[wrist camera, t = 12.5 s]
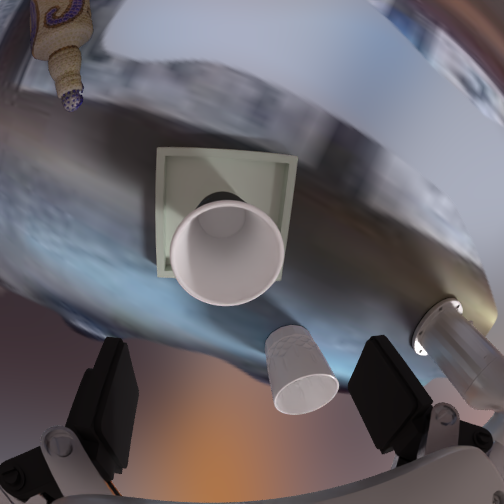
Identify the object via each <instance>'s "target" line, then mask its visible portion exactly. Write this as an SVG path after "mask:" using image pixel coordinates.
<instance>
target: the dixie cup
mask: <svg viewBox="0 0 504 504" xmlns="http://www.w3.org/2000/svg"><path fill="white" fill-rule="evenodd" d="M283 259H284V245H283V240H282V236H281V234H280V231H279V229H278V227H277V226H276V224H275V223H274V221H273V220H272V219H271V218H270V217H269V216H268V215H267V214H266V213H265V212H263V211H262V210H260V209H259V208H257V207H255V206H253V205H251V204H248V203H246V202H245V201H244V200H242V199H241V198H240V197H238V196H237V195H235V194H233V193H230V192H225V191H220V192H215V193H212V194H210V195H208V196H206V197H205V198H204V199H203V200H202V201H201V202H200V203H199V205H198V206H197V207H196V209H195V210H194V211H192V212H191V213H190V214H188V215H187V216H186V217H185V218H184V219H183V220H182V222H181V223H180V224H179V226H178V227H177V229H176V231H175V232H174V235H173V237H172V241H171V245H170V263H171V267H172V271H173V273H174V275H175V277H176V279H177V281H178V282H179V284H180V285H181V286H182V287H183V289H184V290H185V291H187V292H188V293H189V294H190V295H192V296H193V297H195V298H196V299H198V300H200V301H202V302H205V303H208V304H212V305H217V306H234V305H239V304H243V303H246V302H249V301H251V300H253V299H255V298H257V297H259V296H260V295H262V294H263V293H264V292H265V291H266V290H267V289H268V288H270V286H271V285H272V284H273V283H274V281H275V280H276V278H277V277H278V275H279V273H280V270H281V267H282V264H283Z"/></svg>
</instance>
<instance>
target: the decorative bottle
mask: <svg viewBox="0 0 504 504" xmlns="http://www.w3.org/2000/svg"><path fill="white" fill-rule="evenodd" d="M92 33H93V24H92V20H91V10H90V2H89V0H30V34H31V39H30V41H31V52H32V55H33V57H34V58H35V59H38V60H43V61H48V60H49V61H48V67H49V72H50V75H51V77H52V78H53V80H54V81H55V85H56V90H57V94H58V97H59V98H62V104H63V106H64V107H65V109H66V110H67V111H69V112H73V111H75V110H76V109H78V107H79V106H80V105H81V104H82V102H83V97H82V95H80V94H79V92H80V91H81V93H83V89H84V86H83V84H82V82H81V76H80V68H81V61H82V58H81V52H80V50H79V48H80V47H81V46H83V45H84V44H85V43H86V42H88V41H89V39H90V38H91V36H92Z"/></svg>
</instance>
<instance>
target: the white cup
mask: <svg viewBox="0 0 504 504" xmlns="http://www.w3.org/2000/svg"><path fill="white" fill-rule="evenodd" d="M265 354H266V361H267V368H268V375H269V381H270V386H271V391H272V396H273V401H274V405H275V408H276V409H277V410H279V411H280V412H282V413H285V414H291V415H296V414H304V413H308V412H311V411H314V410H317V409H319V408H321V407H322V406H324V405H325V404H327V403H328V402H329V401H331V399H333V397H334V396H335V395H336V393H337V391H338V388H339V383H338V380H337V379H336V377H335V375H334V373H333V371H332V370H331V368H330V366H329V364H328V362H327V361H326V359H325V357H324V355H323V354H322V352H321V351H320V349H319V347H318V345H317V344H316V343H315V342H314V340H313V338H312V336H311V335H310V333H309V331H308V330H306V329H305V328H303V327H302V326H297V325H288V326H284V327H280V328H279V329H277V330H275V331H274V332H272V333H271V334H270V336H269V337H268V338H267V340H266V341H265Z"/></svg>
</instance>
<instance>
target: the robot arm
mask: <svg viewBox="0 0 504 504" xmlns="http://www.w3.org/2000/svg"><path fill="white" fill-rule="evenodd" d="M412 347H413V349H414V351H415V352H416V353H417V354H419V355H427V354H428V355H429V356H430V357H431V358H432V360H433V361H434V362H435V363H436V364H437V366H438V367H439V368H440V369H441V371H442V372H443V373H444V374H445V376H446V377H447V378H448V379H449V381H450V382H451V383H452V385H453V386H454V387H455V388H456V390H457V391H458V392H459V393H460V395H461V396H462V398H463V399H464V400H465V401H466V403H467V404H468V405H469V406H470V407H472V408H473V409H476V410H493V411H494V412H495V413H494V415H493V416H492V417H491V418H490V420H489V421H488V422H487V423H486V424H485V425H484V426H483V427H480V426H476V425H473V424H470V423H467V422H464V421H461V420H460V418H459V413H458V411H457V410H456V409H455V407H453V406H452V405H450V404H448V403H443V402H442V403H438V404H436V405H435V406H434V407H433V406H432V405H431V404H432V403H433V400H432V399H431V397H430V396H429V395H428V393H427V392H426V390H425V389H424V387H423V386H422V385H421V383H420V382H419V380H418V379H417V378H416V376H415V375H414V373H413V372H412V371H411V369H410V368H409V367H408V365H407V364H406V362H405V361H404V360H403V358H402V357H401V356H400V354H399V353H398V352H397V350H396V349H395V348H394V346H393V345H392V344H391V342H390V341H389V340H388V338H387V337H386V336H385V335H379V336H372V337H370V339H369V340H368V341H367V342H366V344H365V346H364V349H363V351H362V353H361V356H360V358H359V360H358V363H357V365H356V367H355V370H354V372H353V374H352V376H351V378H350V381H349V383H348V390H349V392H350V394H351V396H352V399H353V401H354V403H355V405H356V407H357V409H358V411H359V413H360V415H361V417H362V419H363V421H364V423H365V425H366V427H367V429H368V432H369V434H370V436H371V438H372V440H373V442H374V444H375V446H376V448H377V449H380V451H381V453H382V454H385V453H388V452H391V451H393V450H394V451H395V453H396V455H395V458H394V461H393V464H392V467H391V470H389V471H387V472H384V473H381V474H378V475H375V476H372V477H369V478H366V479H363V480H360V481H357V482H353V483H350V484H346V485H342V486H338V487H335V488H331V489H327V490H322V491H318V492H313V493H308V494H302V495H297V496H291V497H284V498H277V499H269V500H260V501H248V502H232V503H231V502H230V503H191V502H172V501H160V500H150V499H142V498H133V497H124V496H122V495H121V494H120V492H119V491H118V489H117V488H116V487H115V485H114V484H113V483H112V481H111V480H113V477H114V473H118V474H122V468H127V465H128V457H129V451H130V444H131V437H132V431H133V425H134V419H135V413H136V407H137V402H138V396H139V390H138V386H137V382H136V378H135V374H134V371H133V367H132V362H131V358H130V354H129V350H128V345H127V343H124V342H123V341H122V339H121V338H114V337H106V339H105V341H104V343H103V345H102V348H101V350H100V353H99V355H98V358H97V360H96V363H95V365H94V368H93V369H90V368H88V369H87V370H86V372H85V374H84V376H83V378H82V381H81V383H80V386H79V389H78V391H77V394H76V397H75V399H74V402H73V405H72V408H71V410H70V413H69V417H68V419H67V422H66V425H65V427H64V426H53V427H50V428H48V429H47V430H46V431H45V432H44V433H43V434H42V436H41V439H40V446H39V447H36V448H34V449H32V450H30V451H28V452H25V453H23V454H21V455H18V456H16V457H14V458H11V459H9V460H6V461H5V462H3V463H2V464H1V465H0V504H504V355H503V354H502V353H501V352H500V351H499V350H498V349H497V348H496V347H495V346H494V345H493V344H492V343H491V342H490V341H489V340H488V339H487V338H486V337H485V336H484V335H483V334H482V333H481V332H479V331H478V330H477V329H476V328H475V327H474V326H473V322H472V321H471V320H470V321H468V320H467V319H466V318H465V317H463V316H462V305H461V303H460V302H459V301H458V300H457V299H455V298H447V299H445V300H442V301H441V302H439V303H437V304H436V305H435V306H434V307H432V308H431V309H430V310H429V311H428V312H427V313H426V315H425V316H424V317H423V318H422V320H421V321H420V323H419V324H418V326H417V328H416V330H415V332H414V335H413V338H412Z"/></svg>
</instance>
